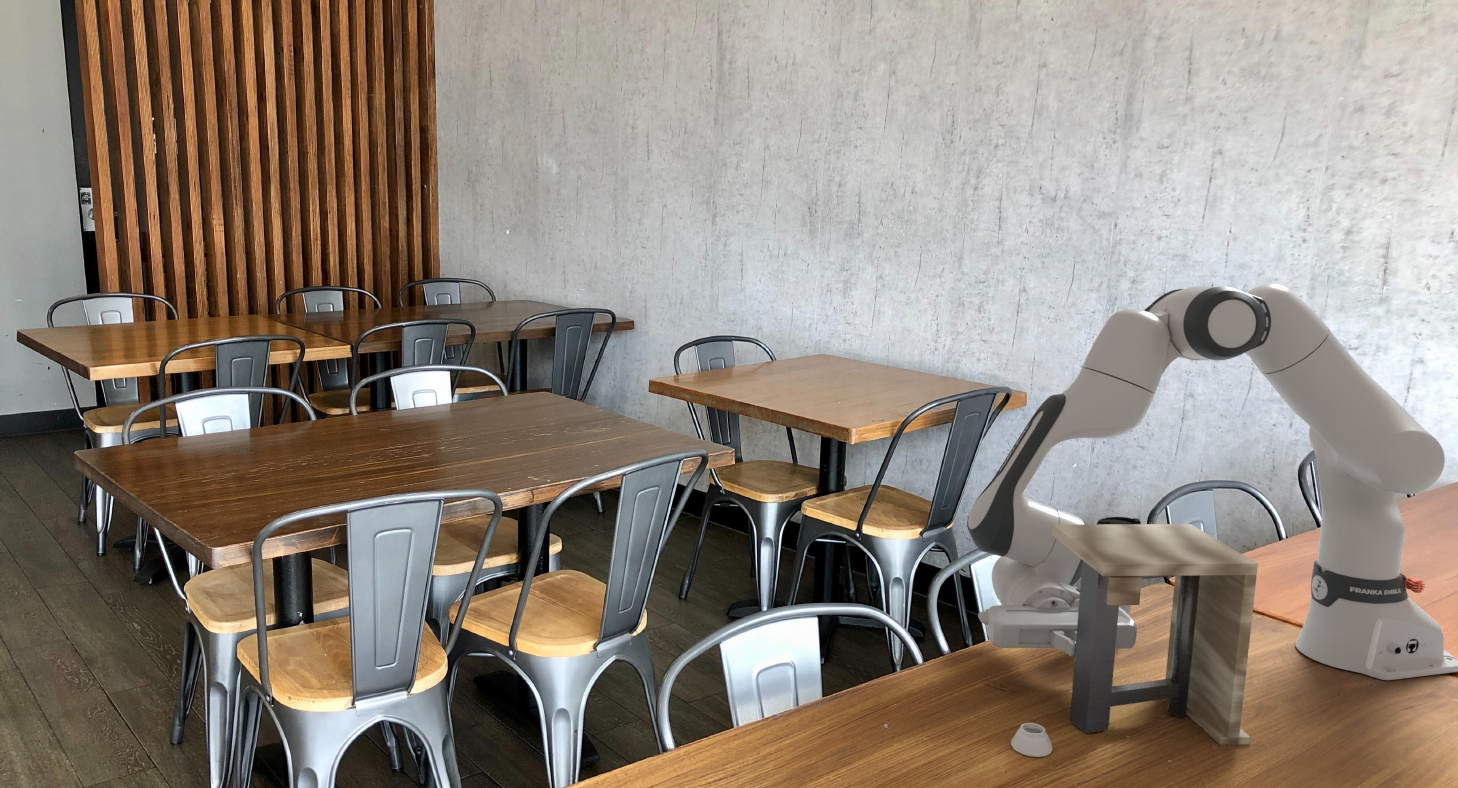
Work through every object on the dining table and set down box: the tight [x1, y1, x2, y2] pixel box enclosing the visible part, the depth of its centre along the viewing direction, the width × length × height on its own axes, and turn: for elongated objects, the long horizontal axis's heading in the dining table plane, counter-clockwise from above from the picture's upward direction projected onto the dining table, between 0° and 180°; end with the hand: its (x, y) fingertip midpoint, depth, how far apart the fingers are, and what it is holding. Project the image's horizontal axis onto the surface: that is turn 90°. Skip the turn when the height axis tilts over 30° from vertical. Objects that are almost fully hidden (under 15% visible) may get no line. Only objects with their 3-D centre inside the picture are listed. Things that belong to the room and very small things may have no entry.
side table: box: [1052, 523, 1259, 746], centre depth 144 cm, size 22×17×24 cm
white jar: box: [1010, 722, 1053, 758], centre depth 136 cm, size 5×3×5 cm
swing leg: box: [1069, 561, 1200, 734], centre depth 142 cm, size 17×4×22 cm, turn 107°
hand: (1079, 651), depth 142 cm, fingers closed
